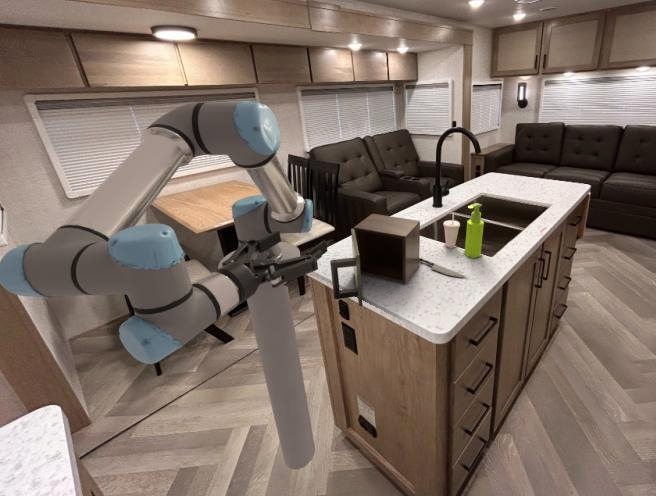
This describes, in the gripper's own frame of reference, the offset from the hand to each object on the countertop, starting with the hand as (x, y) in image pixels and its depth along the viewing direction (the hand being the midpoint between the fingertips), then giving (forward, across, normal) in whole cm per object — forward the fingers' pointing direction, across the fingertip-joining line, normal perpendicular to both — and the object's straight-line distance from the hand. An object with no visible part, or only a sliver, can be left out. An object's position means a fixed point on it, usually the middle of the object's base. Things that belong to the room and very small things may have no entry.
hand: (301, 240), depth 76 cm
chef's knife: (+39, +24, -24) cm, 52 cm away
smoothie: (+58, +23, -25) cm, 67 cm away
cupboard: (+33, +7, -25) cm, 42 cm away
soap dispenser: (+54, +32, -25) cm, 68 cm away
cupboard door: (+17, 0, -25) cm, 30 cm away
